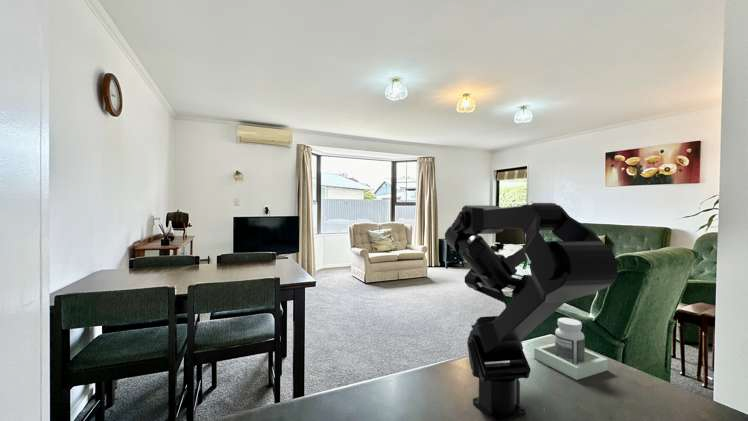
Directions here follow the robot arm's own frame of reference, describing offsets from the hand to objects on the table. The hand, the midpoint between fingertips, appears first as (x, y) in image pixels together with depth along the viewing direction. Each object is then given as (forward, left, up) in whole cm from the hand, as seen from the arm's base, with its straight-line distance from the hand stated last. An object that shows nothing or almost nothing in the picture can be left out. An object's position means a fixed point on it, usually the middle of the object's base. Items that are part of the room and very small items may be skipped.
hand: (521, 306), depth 70 cm
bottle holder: (+12, -3, -14) cm, 18 cm away
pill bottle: (+11, -3, -14) cm, 18 cm away
